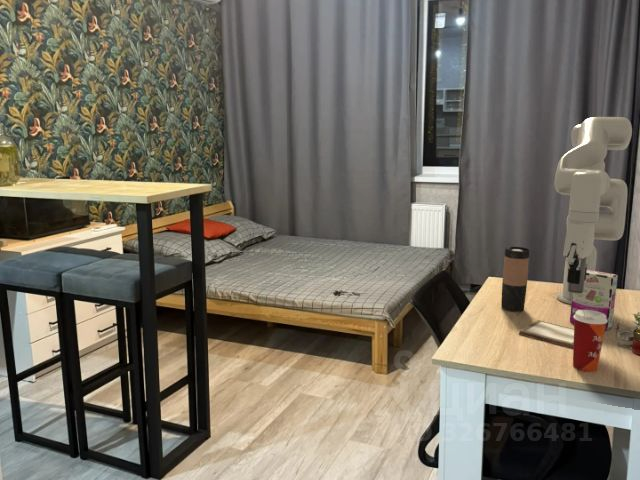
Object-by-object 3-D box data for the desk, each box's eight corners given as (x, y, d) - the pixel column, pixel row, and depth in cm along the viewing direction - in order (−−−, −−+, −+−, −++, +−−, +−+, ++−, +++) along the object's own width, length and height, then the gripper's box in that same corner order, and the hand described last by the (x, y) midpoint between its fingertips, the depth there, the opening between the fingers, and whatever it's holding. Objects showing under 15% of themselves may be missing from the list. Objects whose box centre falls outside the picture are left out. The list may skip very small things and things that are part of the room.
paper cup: (599, 376, 140) (606, 321, 137) (565, 368, 144) (571, 315, 141) (603, 365, 146) (610, 312, 143) (571, 358, 150) (576, 306, 147)
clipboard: (537, 323, 177) (538, 317, 176) (592, 336, 166) (593, 330, 165) (519, 334, 167) (519, 327, 167) (575, 349, 157) (576, 342, 156)
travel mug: (526, 312, 186) (531, 252, 182) (501, 310, 188) (506, 250, 184) (523, 305, 194) (528, 247, 190) (499, 303, 195) (503, 245, 191)
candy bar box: (612, 327, 174) (619, 274, 171) (607, 331, 171) (613, 277, 167) (574, 318, 182) (580, 267, 178) (568, 322, 178) (574, 270, 175)
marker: (570, 288, 166) (574, 243, 163) (585, 291, 163) (590, 246, 160) (564, 291, 163) (569, 246, 160) (580, 294, 160) (584, 248, 157)
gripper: (579, 212, 167) (573, 274, 171) (557, 218, 155) (551, 284, 159) (607, 215, 162) (600, 278, 166) (586, 222, 150) (579, 290, 154)
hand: (576, 281), depth 162 cm, fingers closed on marker, 3 cm apart
